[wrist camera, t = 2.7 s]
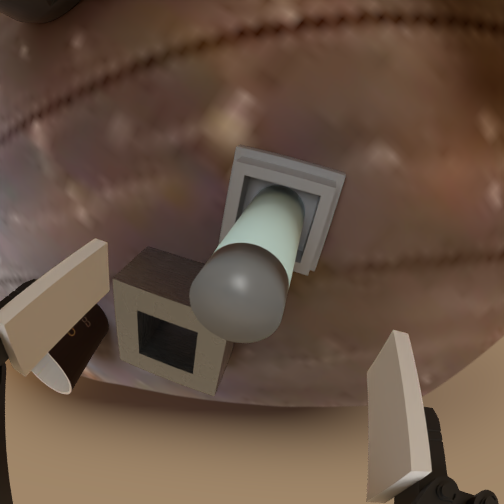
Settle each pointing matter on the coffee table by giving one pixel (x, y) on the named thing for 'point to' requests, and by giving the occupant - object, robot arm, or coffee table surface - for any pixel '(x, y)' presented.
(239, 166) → the grey square open tray
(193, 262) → the port block
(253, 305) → the plug
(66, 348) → the coffee mug
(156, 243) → the coffee table surface
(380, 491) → the robot arm
